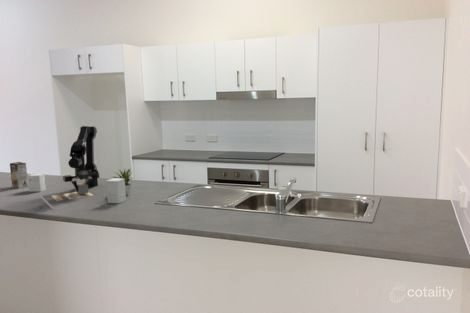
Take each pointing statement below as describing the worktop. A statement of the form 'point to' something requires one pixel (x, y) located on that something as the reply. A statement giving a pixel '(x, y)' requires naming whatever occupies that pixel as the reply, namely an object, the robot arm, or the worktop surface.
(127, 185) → the house plant
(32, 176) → the small box
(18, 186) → the coffee box
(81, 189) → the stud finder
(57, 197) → the board
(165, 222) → the worktop surface
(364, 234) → the worktop surface
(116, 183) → the supplement box
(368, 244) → the worktop surface
